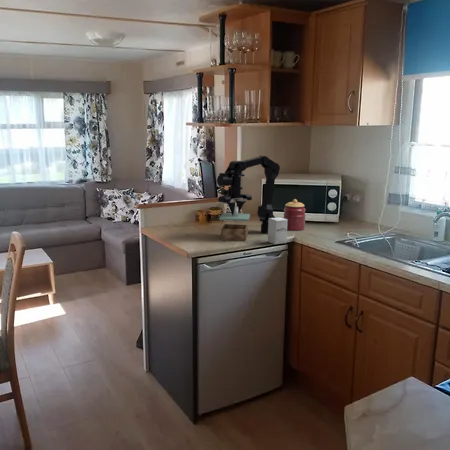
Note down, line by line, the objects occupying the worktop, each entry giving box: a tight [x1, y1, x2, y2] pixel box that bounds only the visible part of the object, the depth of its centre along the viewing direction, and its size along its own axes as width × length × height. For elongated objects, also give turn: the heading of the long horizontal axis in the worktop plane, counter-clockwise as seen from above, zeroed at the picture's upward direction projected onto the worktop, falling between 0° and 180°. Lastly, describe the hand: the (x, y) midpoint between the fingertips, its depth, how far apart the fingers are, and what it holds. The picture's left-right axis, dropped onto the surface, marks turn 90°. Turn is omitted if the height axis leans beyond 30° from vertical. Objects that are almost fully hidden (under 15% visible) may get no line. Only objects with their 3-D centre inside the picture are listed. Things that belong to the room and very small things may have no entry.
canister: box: [283, 198, 307, 232], centre depth 280 cm, size 13×13×18 cm
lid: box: [218, 205, 251, 222], centre depth 254 cm, size 15×15×6 cm
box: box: [220, 223, 249, 242], centre depth 256 cm, size 13×13×6 cm
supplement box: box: [267, 217, 288, 245], centre depth 247 cm, size 7×7×13 cm
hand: (235, 214), depth 254 cm, fingers closed on lid, 3 cm apart
